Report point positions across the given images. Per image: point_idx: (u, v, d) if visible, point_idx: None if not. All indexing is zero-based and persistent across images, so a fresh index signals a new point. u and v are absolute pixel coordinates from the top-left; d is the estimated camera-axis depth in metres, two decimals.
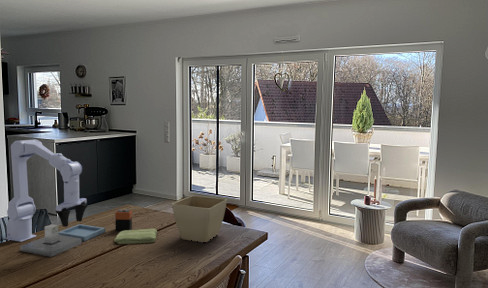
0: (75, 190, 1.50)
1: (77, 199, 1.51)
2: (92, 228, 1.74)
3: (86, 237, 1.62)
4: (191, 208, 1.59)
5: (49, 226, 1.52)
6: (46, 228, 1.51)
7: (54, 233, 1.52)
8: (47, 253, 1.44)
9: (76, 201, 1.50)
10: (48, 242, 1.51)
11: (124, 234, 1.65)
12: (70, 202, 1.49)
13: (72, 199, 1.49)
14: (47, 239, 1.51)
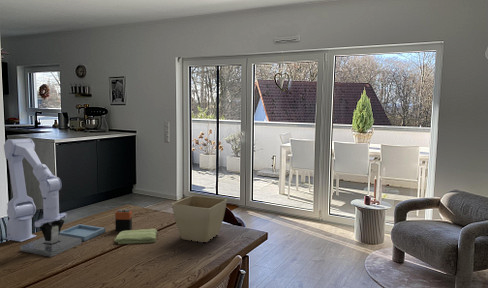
0: (53, 206, 1.50)
1: (56, 215, 1.51)
2: (92, 228, 1.74)
3: (86, 237, 1.62)
4: (191, 208, 1.59)
5: None
6: None
7: (54, 233, 1.52)
8: (47, 253, 1.44)
9: (55, 217, 1.51)
10: (48, 242, 1.51)
11: (124, 234, 1.65)
12: (49, 218, 1.49)
13: (51, 215, 1.49)
14: None
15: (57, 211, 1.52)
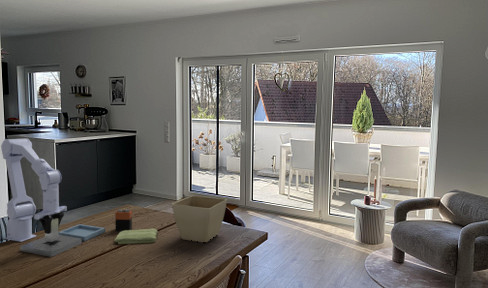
0: (53, 198, 1.49)
1: (56, 207, 1.51)
2: (92, 228, 1.74)
3: (86, 237, 1.62)
4: (191, 208, 1.59)
5: None
6: None
7: (54, 225, 1.52)
8: (47, 253, 1.44)
9: (55, 209, 1.51)
10: (48, 235, 1.51)
11: (124, 234, 1.65)
12: (49, 210, 1.49)
13: (50, 207, 1.49)
14: None
15: (57, 204, 1.51)
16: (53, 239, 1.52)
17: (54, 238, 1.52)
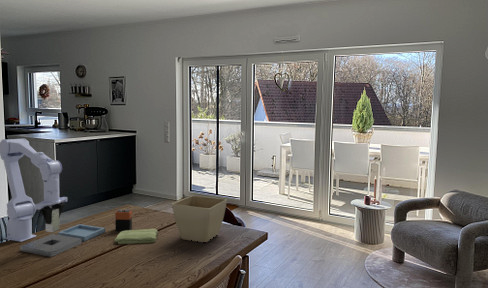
0: (54, 189, 1.50)
1: (57, 198, 1.51)
2: (92, 228, 1.74)
3: (86, 237, 1.62)
4: (191, 208, 1.59)
5: None
6: None
7: (55, 216, 1.52)
8: (47, 253, 1.44)
9: (56, 200, 1.51)
10: (48, 225, 1.51)
11: (124, 234, 1.65)
12: (50, 201, 1.49)
13: (51, 198, 1.49)
14: None
15: (57, 194, 1.51)
16: (54, 229, 1.52)
17: (55, 229, 1.52)
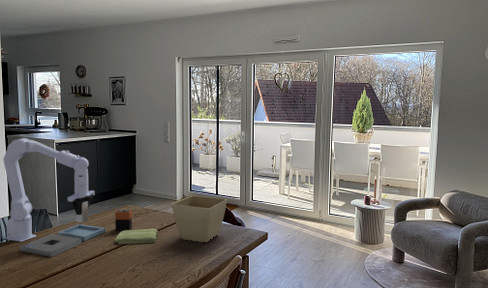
0: (87, 182, 1.67)
1: (86, 191, 1.67)
2: (92, 228, 1.74)
3: (86, 237, 1.62)
4: (191, 208, 1.59)
5: None
6: None
7: (84, 208, 1.68)
8: (47, 253, 1.44)
9: (85, 193, 1.66)
10: (79, 216, 1.67)
11: (124, 234, 1.65)
12: (80, 194, 1.65)
13: (81, 191, 1.65)
14: None
15: (87, 188, 1.67)
16: (83, 220, 1.67)
17: (84, 219, 1.68)
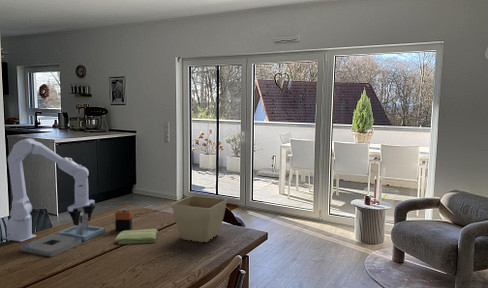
0: (87, 192, 1.68)
1: (86, 201, 1.67)
2: (92, 228, 1.74)
3: (86, 237, 1.62)
4: (191, 208, 1.59)
5: (80, 214, 1.68)
6: None
7: (85, 220, 1.68)
8: (47, 253, 1.44)
9: (85, 202, 1.67)
10: (79, 229, 1.67)
11: (125, 234, 1.65)
12: (80, 203, 1.65)
13: (82, 200, 1.65)
14: (78, 225, 1.67)
15: (87, 197, 1.67)
16: (84, 232, 1.68)
17: (84, 231, 1.68)
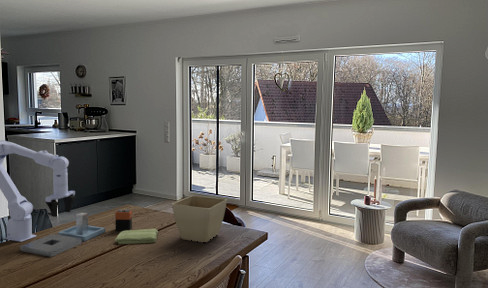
0: (66, 182, 1.63)
1: (65, 191, 1.63)
2: (92, 228, 1.74)
3: (86, 237, 1.62)
4: (191, 208, 1.59)
5: (80, 214, 1.68)
6: (77, 216, 1.67)
7: (85, 220, 1.68)
8: (47, 253, 1.44)
9: (65, 193, 1.62)
10: (79, 229, 1.67)
11: (125, 234, 1.65)
12: (59, 194, 1.61)
13: (60, 191, 1.61)
14: (78, 225, 1.67)
15: (66, 188, 1.63)
16: (84, 232, 1.68)
17: (84, 231, 1.68)
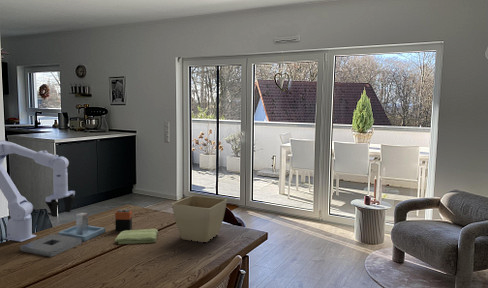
0: (66, 182, 1.63)
1: (65, 191, 1.63)
2: (92, 228, 1.74)
3: (86, 237, 1.62)
4: (191, 208, 1.59)
5: (80, 214, 1.68)
6: (77, 216, 1.67)
7: (85, 220, 1.68)
8: (47, 253, 1.44)
9: (65, 193, 1.62)
10: (79, 229, 1.67)
11: (125, 234, 1.65)
12: (59, 194, 1.61)
13: (60, 191, 1.61)
14: (78, 225, 1.67)
15: (66, 188, 1.63)
16: (84, 232, 1.68)
17: (84, 231, 1.68)
